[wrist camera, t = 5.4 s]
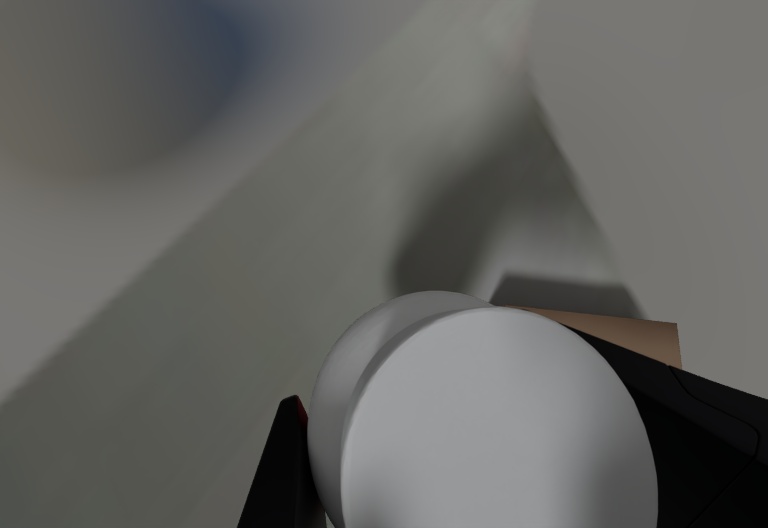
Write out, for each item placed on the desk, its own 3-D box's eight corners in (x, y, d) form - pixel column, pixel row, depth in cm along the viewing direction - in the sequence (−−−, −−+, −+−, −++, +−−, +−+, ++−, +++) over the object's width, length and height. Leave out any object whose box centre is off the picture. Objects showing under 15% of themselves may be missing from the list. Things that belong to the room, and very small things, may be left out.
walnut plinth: (654, 507, 22) (702, 532, 19) (482, 500, 21) (505, 526, 18) (637, 325, 25) (676, 323, 22) (485, 309, 23) (505, 305, 21)
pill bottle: (357, 295, 16) (391, 196, 5) (472, 345, 16) (731, 346, 5) (300, 425, 14) (182, 663, 4) (429, 479, 14) (679, 862, 4)
